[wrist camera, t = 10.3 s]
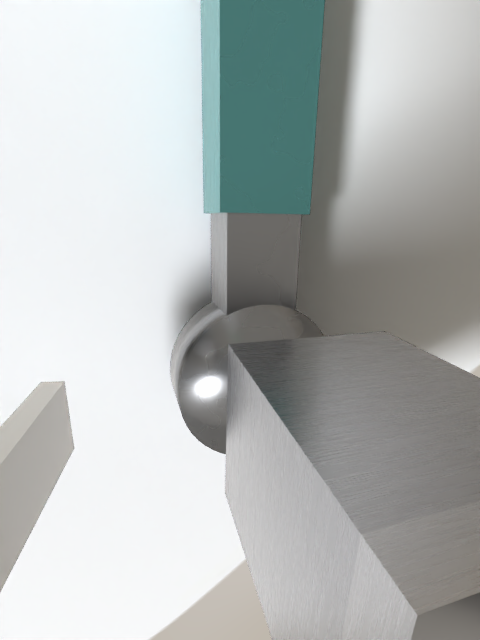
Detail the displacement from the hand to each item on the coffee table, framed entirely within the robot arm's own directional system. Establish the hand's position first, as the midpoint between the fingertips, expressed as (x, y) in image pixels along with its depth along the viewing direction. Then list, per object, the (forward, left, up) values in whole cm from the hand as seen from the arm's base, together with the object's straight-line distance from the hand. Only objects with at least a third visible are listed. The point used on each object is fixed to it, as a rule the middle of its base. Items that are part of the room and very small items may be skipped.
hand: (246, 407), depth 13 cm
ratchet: (0, +7, -4) cm, 8 cm away
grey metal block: (+2, 0, 0) cm, 2 cm away
